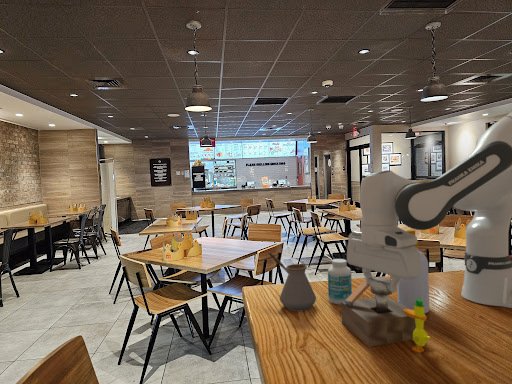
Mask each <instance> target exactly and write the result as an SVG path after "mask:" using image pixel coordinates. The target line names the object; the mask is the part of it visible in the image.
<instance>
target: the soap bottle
mask: <svg viewBox="0 0 512 384" xmlns="http://www.w3.org/2000/svg"><path fill="white" fill-rule="evenodd" d="M405 231H406V232H408V233H411V234H413V235H415V236H416V231H417V230H416V229H406V230H405ZM414 246H415V247H416V248H417V249H418V252H419V256H420V268H421V272H420V275H419V276H418V277H417V278H414V279H410V280H409V279H405V278H401V279H400V281H399V282H398V284H397V291H396V292H397V302H398V303H400V304H402V305H404V306H405V307H407V308H409V309H411V310H414V303H416V299H421V300H423V304H424V314H427V313H428V312H430V285H429V283H430V282H429V280H430V278H429V261H428V258H427V257H426V255H425V254H424V253H423V252H422V251H420V250H419V240H418V239H417V244H415V245H414Z"/></svg>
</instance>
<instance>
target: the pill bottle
mask: <svg viewBox="0 0 512 384" xmlns="http://www.w3.org/2000/svg"><path fill="white" fill-rule="evenodd" d="M347 264H348V261H347V259H345V258H334V259H331V266H330V267H329V268H328V269H327V285H328V286H327V289H328V290H327V292H328V301H329V302H330V303H332V304H335V305H340V306H341V302H344V300H345V299H347V298H348V297H349V296H350V295H351V294H352V293H353V287H352V286H353V285H352V269H351V268H350V267H348V266H347Z"/></svg>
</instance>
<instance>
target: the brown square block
mask: <svg viewBox="0 0 512 384" xmlns="http://www.w3.org/2000/svg"><path fill="white" fill-rule="evenodd" d="M340 306H341V307H340V308H341V310H340V311H341V324H342V325H343V326H344V327H346V328H347V329H348V330H349V331H351V332H352V333H353V334H354V335H355V336H356V337H357V338H358V339H359V340H361V341H362V342H363V343H364V344H365V345H366V346H368V347H375V346H383V345H388V344H392V343H393V344H394V343H400V342H406V341H413V331H414V330H415V329H416V324H415V319H414V318H411V317H409V316H406V315H405V313H404V312H403V310H404V309H409V308H407V307H405V306H404V305H402V304H400V303H398V301H397V300H395V299H393V298H391V297H389V296H388V313H378V312H376V301H375V296H374V297H366V298H358V299H357V300H356V301H355V302H354V303H353V306H351V307H350V306H349V305H347V304H346V303H345V302H341V305H340Z"/></svg>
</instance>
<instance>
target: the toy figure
mask: <svg viewBox="0 0 512 384" xmlns="http://www.w3.org/2000/svg"><path fill="white" fill-rule="evenodd" d="M403 312H404V313H405V315H406V316H409V317H411V318H414V319H415V324H416V329H415V330H414V331H413V339H412V341H414V343H415V346H412V347H411V349H412V351H414V352H416V353H419V354H420V353H423V352H424V351H425V349H424V348H423V347H424V346H425V345H426V344H427V342H428V341H429V340H430V339H431V336H429V335H428V333H427V331H426V330H425V329H424V325H425V321H427V318H428V317H427V316H426V314H425V313H424V304H423V300H421V299H416V303H414V310H411V309H404V310H403Z"/></svg>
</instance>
